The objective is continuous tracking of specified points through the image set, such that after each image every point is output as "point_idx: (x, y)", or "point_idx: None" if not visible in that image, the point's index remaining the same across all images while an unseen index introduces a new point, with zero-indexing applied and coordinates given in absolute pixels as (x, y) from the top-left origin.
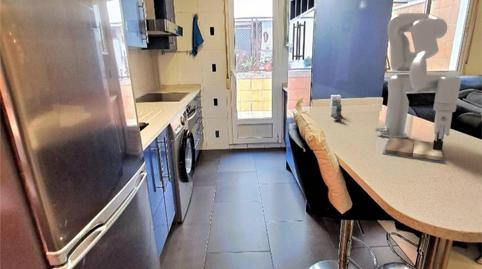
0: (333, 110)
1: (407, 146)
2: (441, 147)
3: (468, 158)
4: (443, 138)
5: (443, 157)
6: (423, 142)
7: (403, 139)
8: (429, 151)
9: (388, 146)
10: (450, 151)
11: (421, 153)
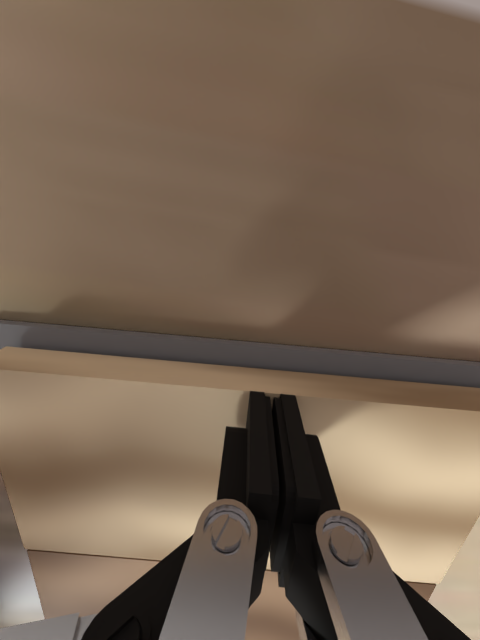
0: None
1: None
2: (301, 425)
3: (268, 87)
4: (412, 613)
5: (367, 356)
6: (52, 499)
7: (48, 602)
8: (365, 490)
9: None
10: (79, 249)
11: (442, 543)
